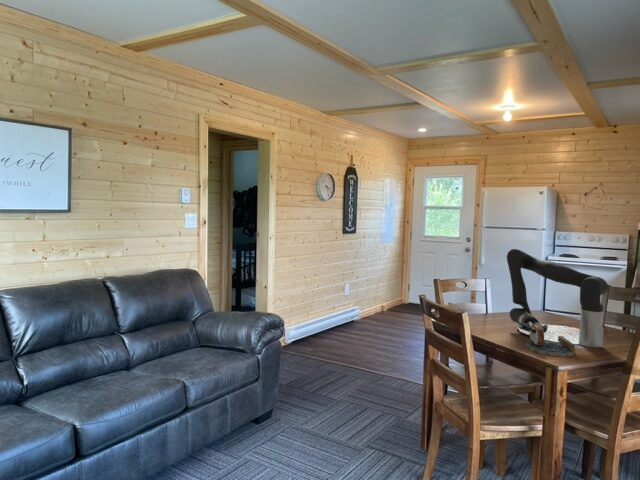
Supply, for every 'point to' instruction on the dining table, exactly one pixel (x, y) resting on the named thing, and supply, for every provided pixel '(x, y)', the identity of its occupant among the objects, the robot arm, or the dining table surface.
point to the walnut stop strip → (566, 343)
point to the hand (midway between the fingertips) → (538, 331)
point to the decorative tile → (550, 349)
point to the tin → (537, 335)
